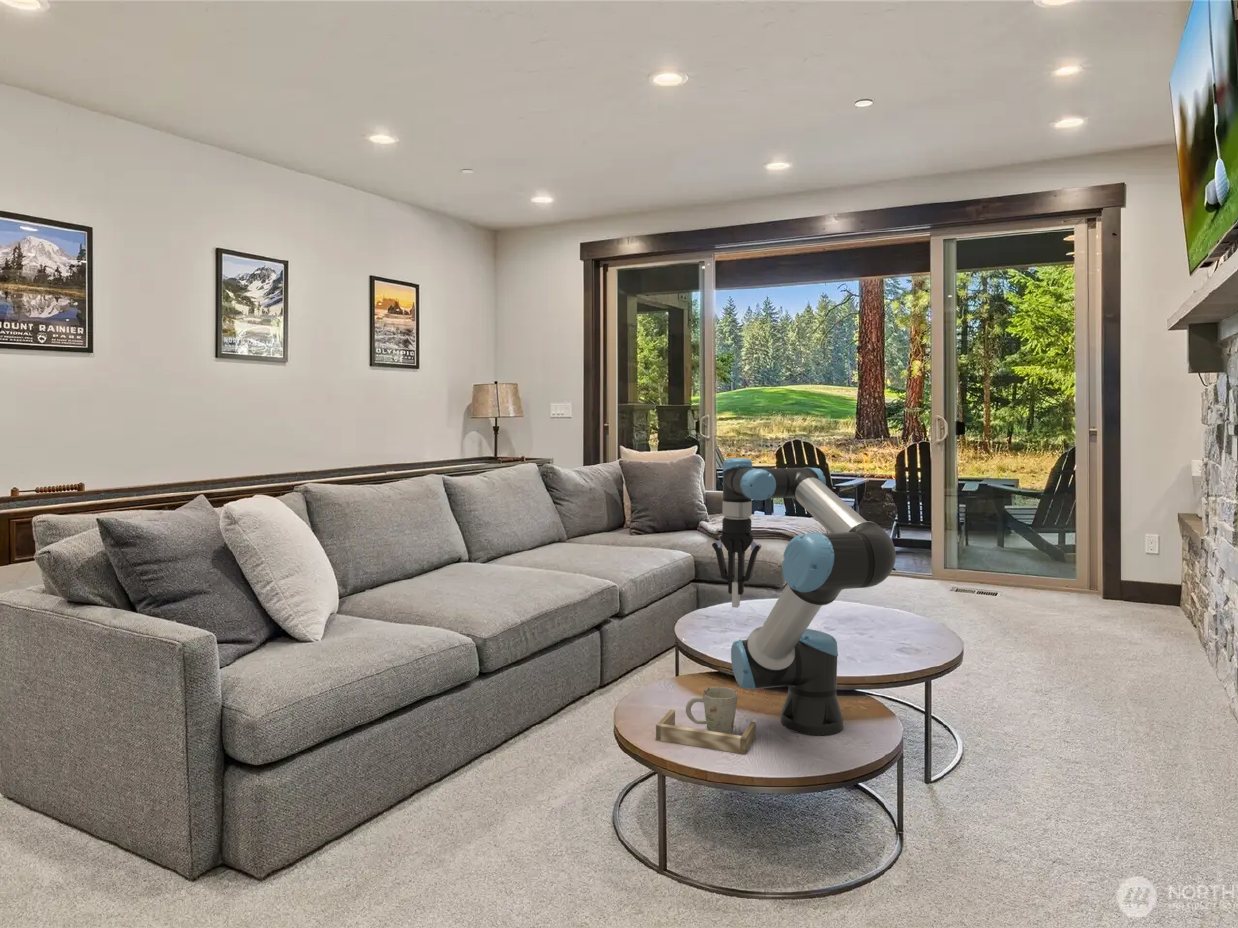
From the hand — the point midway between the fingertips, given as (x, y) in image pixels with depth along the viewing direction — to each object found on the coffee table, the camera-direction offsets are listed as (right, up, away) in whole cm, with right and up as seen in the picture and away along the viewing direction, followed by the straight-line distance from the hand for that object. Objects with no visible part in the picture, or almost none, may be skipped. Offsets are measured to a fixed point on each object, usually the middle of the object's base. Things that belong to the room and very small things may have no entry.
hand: (735, 606), depth 213 cm
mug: (-8, -28, -17) cm, 34 cm away
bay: (-10, -28, -21) cm, 36 cm away
